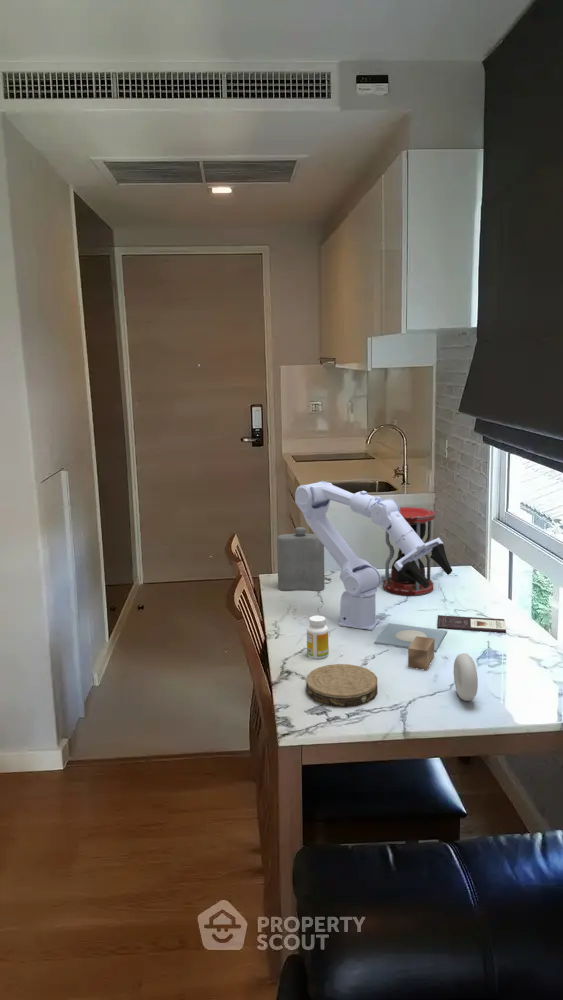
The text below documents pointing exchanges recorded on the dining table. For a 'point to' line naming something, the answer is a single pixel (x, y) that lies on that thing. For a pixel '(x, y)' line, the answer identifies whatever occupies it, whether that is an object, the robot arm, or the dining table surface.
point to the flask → (300, 561)
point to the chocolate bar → (471, 624)
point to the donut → (465, 677)
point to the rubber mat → (408, 635)
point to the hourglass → (399, 581)
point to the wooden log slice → (341, 685)
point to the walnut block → (421, 653)
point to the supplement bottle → (317, 638)
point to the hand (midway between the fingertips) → (439, 579)
